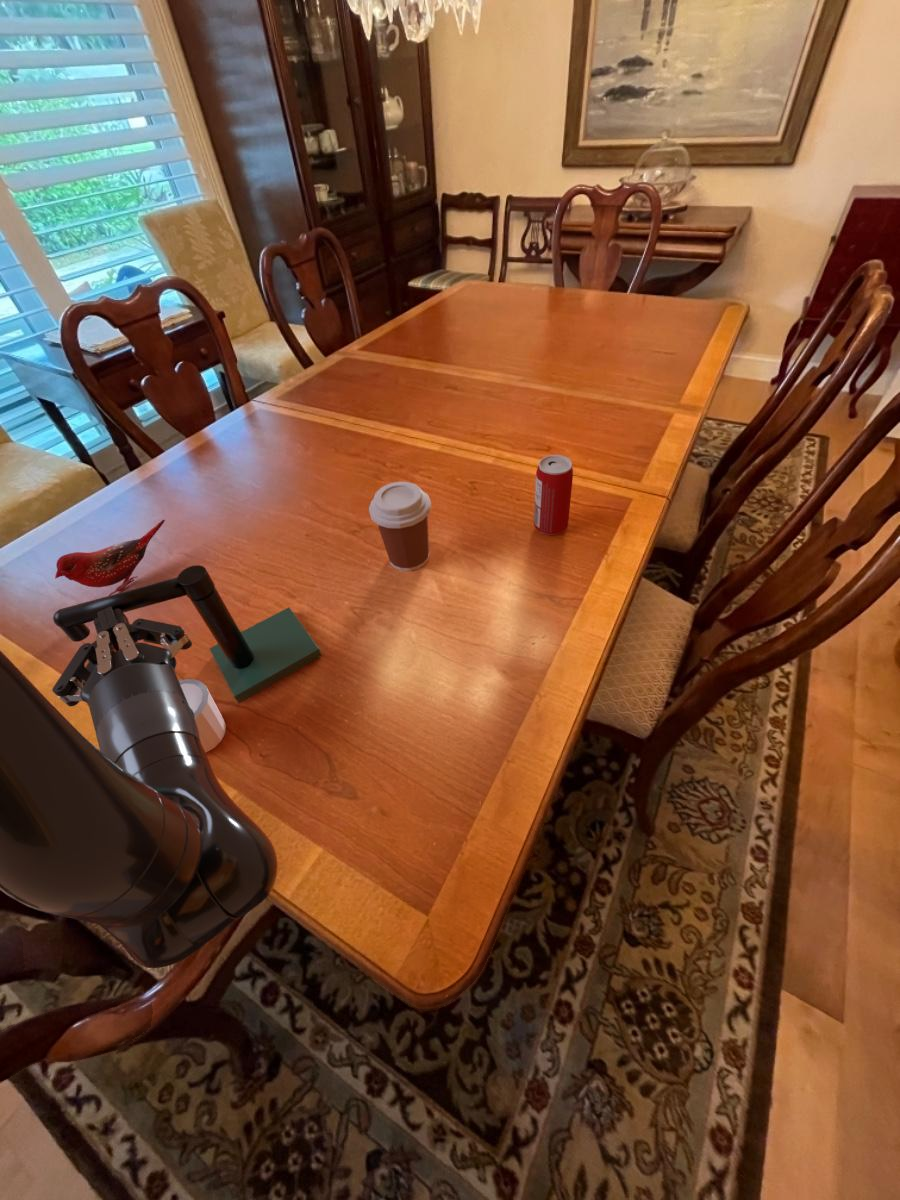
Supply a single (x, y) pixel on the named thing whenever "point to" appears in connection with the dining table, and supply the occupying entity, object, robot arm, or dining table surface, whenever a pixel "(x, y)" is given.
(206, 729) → the shot glass
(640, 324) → the dining table surface
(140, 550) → the decorative bird figurine
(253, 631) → the faucet
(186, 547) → the dining table surface
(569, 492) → the soda can
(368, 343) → the dining table surface
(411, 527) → the coffee cup
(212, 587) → the spout
